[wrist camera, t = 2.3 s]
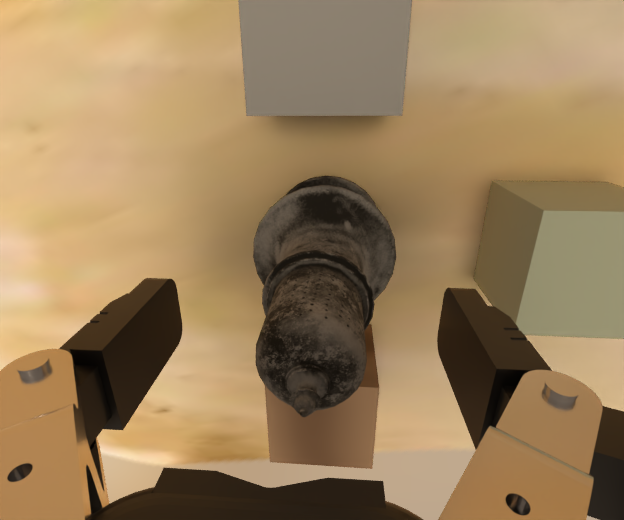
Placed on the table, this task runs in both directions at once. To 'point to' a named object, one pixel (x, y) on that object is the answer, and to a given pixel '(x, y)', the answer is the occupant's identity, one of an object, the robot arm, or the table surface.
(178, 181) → the table surface
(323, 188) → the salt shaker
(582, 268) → the sage block
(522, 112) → the table surface
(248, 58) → the grey block
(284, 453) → the walnut block
